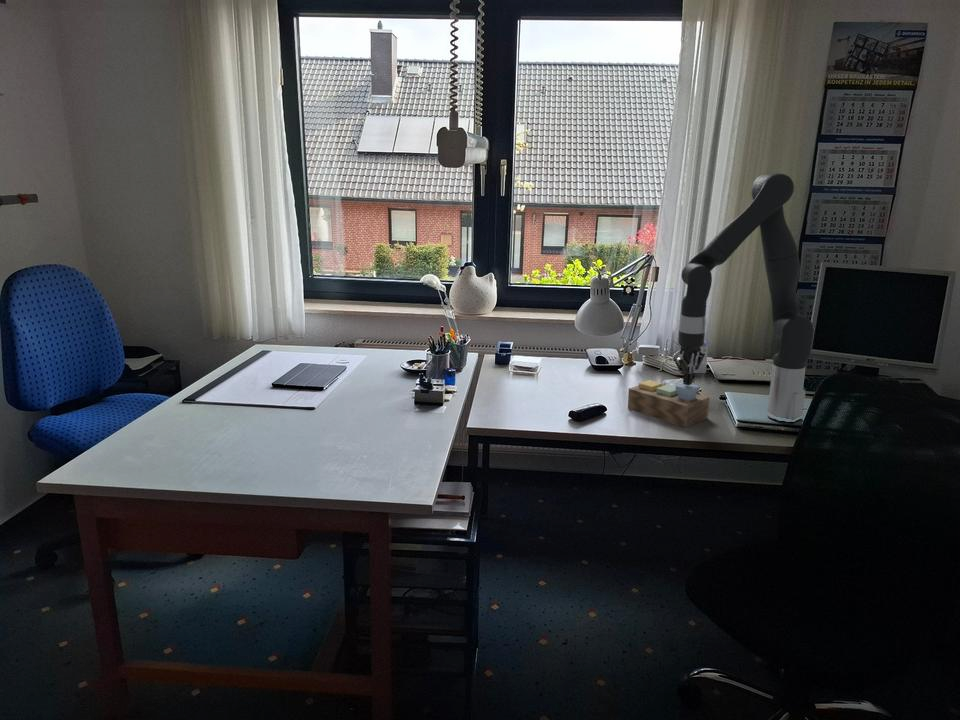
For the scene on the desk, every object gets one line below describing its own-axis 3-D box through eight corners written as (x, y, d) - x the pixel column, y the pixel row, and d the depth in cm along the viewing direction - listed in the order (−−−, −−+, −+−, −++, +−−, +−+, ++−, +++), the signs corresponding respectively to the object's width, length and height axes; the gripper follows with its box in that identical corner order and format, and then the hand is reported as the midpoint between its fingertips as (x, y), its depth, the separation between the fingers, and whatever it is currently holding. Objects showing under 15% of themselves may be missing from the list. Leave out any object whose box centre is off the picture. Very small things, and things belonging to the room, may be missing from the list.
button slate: (698, 407, 206) (700, 386, 204) (688, 411, 203) (690, 389, 201) (684, 403, 210) (685, 382, 208) (674, 407, 207) (675, 385, 205)
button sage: (678, 409, 212) (680, 388, 210) (668, 413, 209) (670, 392, 207) (665, 405, 216) (666, 384, 214) (655, 408, 213) (656, 388, 211)
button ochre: (660, 403, 218) (662, 383, 216) (650, 407, 214) (652, 386, 213) (648, 399, 221) (649, 379, 220) (638, 403, 218) (639, 383, 216)
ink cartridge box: (704, 369, 259) (707, 333, 255) (706, 373, 253) (709, 337, 250) (678, 368, 261) (681, 333, 257) (679, 372, 255) (682, 336, 251)
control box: (707, 418, 208) (709, 397, 206) (684, 427, 201) (686, 405, 199) (650, 400, 225) (651, 381, 223) (627, 408, 218) (628, 388, 216)
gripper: (689, 335, 193) (685, 391, 198) (715, 328, 201) (710, 383, 206) (668, 330, 199) (664, 385, 204) (694, 324, 207) (689, 377, 211)
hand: (687, 384), depth 205 cm, fingers closed
